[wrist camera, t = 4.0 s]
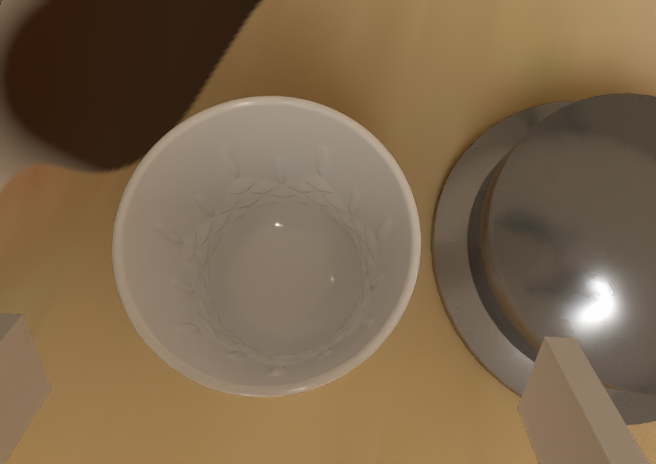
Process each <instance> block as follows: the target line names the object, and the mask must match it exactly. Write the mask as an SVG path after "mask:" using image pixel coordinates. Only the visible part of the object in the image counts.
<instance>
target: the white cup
mask: <svg viewBox="0 0 656 464" xmlns="http://www.w3.org/2000/svg"><path fill="white" fill-rule="evenodd" d="M420 255H421V231H420V222H419V216H418V211H417V207H416V203H415V200H414V197H413V194H412V191H411V189H410V186H409V184H408V182H407V179H406V177H405V175H404V174H403V172H402V170H401V168H400V167H399V165H398V163H397V162H396V160H395V159H394V158H393V156H392V155H391V154H390V152H389V151H388V150H387V149H386V148H385V146H384V145H383V144H382V143H381V142H380V141H379V140H378V139H377V138H376V137H375V136H374V135H373V134H372V133H370V132H369V131H368V130H367V129H366V128H364V127H363V126H362V125H360V124H359V123H357V122H356V121H354V120H353V119H351V118H350V117H348V116H346V115H344V114H343V113H341V112H339V111H337V110H334V109H332V108H330V107H327V106H325V105H322V104H319V103H316V102H313V101H309V100H305V99H300V98H294V97H287V96H253V97H246V98H240V99H235V100H231V101H227V102H224V103H221V104H218V105H215V106H212V107H210V108H207V109H205V110H203V111H201V112H199V113H197V114H195V115H193V116H191V117H189V118H188V119H186V120H184V121H183V122H181V123H180V124H178V125H177V126H176V127H174V128H173V129H172V130H170V131H169V132H168V133H167V134H166V135H164V136H163V137H162V138H161V139H160V140H159V141H158V142H157V143H156V144H155V145H154V146H153V147H152V148H151V149H150V150H149V152H148V153H147V154H146V155H145V157H144V158H143V159H142V160H141V162H140V163H139V165H138V166H137V168H136V169H135V171H134V173H133V174H132V176H131V178H130V180H129V182H128V184H127V186H126V188H125V190H124V192H123V195H122V197H121V200H120V203H119V206H118V209H117V213H116V217H115V222H114V228H113V236H112V264H113V272H114V278H115V283H116V287H117V290H118V294H119V297H120V300H121V302H122V305H123V307H124V310H125V312H126V314H127V316H128V318H129V320H130V321H131V323H132V325H133V326H134V328H135V330H136V331H137V333H138V334H139V335H140V337H141V338H142V339H143V341H144V342H145V343H146V344H147V346H148V347H149V348H150V349H151V350H152V351H153V352H154V353H155V354H156V355H157V356H158V357H159V358H160V359H161V360H162V361H164V362H165V363H166V364H167V365H169V366H170V367H171V368H173V369H174V370H175V371H177V372H178V373H180V374H182V375H183V376H185V377H187V378H188V379H190V380H192V381H194V382H196V383H198V384H201V385H203V386H205V387H208V388H211V389H214V390H217V391H220V392H224V393H228V394H233V395H239V396H246V397H279V396H287V395H293V394H298V393H302V392H306V391H309V390H312V389H315V388H318V387H321V386H323V385H326V384H328V383H330V382H332V381H334V380H336V379H338V378H340V377H342V376H344V375H345V374H347V373H348V372H350V371H352V370H353V369H354V368H356V367H357V366H359V365H360V364H361V363H362V362H364V361H365V360H366V359H367V358H368V357H370V356H371V355H372V354H373V353H374V352H375V351H376V350H377V349H378V348H379V347H380V346H381V345H382V343H383V342H384V341H385V340H386V339H387V337H388V336H389V335H390V334H391V332H392V331H393V329H394V328H395V327H396V325H397V323H398V322H399V320H400V319H401V317H402V315H403V313H404V311H405V309H406V307H407V305H408V303H409V300H410V298H411V295H412V293H413V290H414V287H415V283H416V279H417V275H418V270H419V264H420Z"/></svg>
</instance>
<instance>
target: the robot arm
mask: <svg viewBox="0 0 656 464" xmlns="http://www.w3.org/2000/svg"><path fill="white" fill-rule="evenodd" d="M1 1H2V0H0V4H1ZM50 390H51V387H50V384H49V382H48V379H47V377H46V374H45V371H44V369H43V366H42V363H41V361H40V358H39V355H38V353H37V350H36V347H35V345H34V342H33V340H32V337H31V334H30V332H29V329H28V326H27V324H26V321H25V318H24V316H23V314H9V313H0V464H5V462H6V461H7V459H8V457H9V456H10V454H11V453H12V451H13V449H14V448H15V446H16V445H17V443H18V441H19V440H20V438H21V437H22V435H23V433H24V432H25V430H26V429H27V427H28V425H29V424H30V422H31V421H32V419H33V417H34V416H35V414H36V413H37V411H38V409H39V408H40V406H41V404H42V403H43V401H44V400H45V398H46V396H47V395H48V393H49V392H50ZM518 411H519V414H520V416H521V419H522V421H523V424H524V427H525V429H526V432H527V435H528V437H529V440H530V442H531V445H532V448H533V450H534V453H535V455H536V458H537V461H538V463H539V464H649V462H648V461H647V459H646V457H645V456H644V454H643V452H642V451H641V449H640V447H639V446H638V444H637V442H636V441H635V439H634V437H633V435H632V434H631V432H630V430H629V429H628V427H627V425H626V424H625V422H624V420H623V419H622V417H621V415H620V413H619V412H618V410H617V408H616V407H615V405H614V403H613V402H612V400H611V398H610V397H609V395H608V393H607V391H606V390H605V388H604V386H603V385H602V383H601V381H600V380H599V378H598V376H597V375H596V373H595V371H594V369H593V368H592V366H591V364H590V363H589V361H588V359H587V358H586V356H585V354H584V353H583V351H582V349H581V347H580V346H579V344H578V342H577V341H576V339H575V338H569V337H546V336H545V337H544V340H543V342H542V345H541V347H540V350H539V353H538V355H537V358H536V361H535V363H534V366H533V368H532V371H531V374H530V376H529V379H528V381H527V384H526V387H525V389H524V392H523V395H522V397H521V400H520V402H519V405H518Z"/></svg>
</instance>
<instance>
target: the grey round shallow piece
mask: <svg viewBox="0 0 656 464" xmlns="http://www.w3.org/2000/svg"><path fill="white" fill-rule="evenodd" d="M431 252H432V264H433V271H434V276H435V280H436V285H437V289H438V292H439V295H440V298H441V301H442V304H443V306H444V309H445V311H446V313H447V315H448V317H449V319H450V321H451V323H452V325H453V327H454V329H455V331H456V333H457V334H458V336H459V337H460V339H461V340H462V342H463V343H464V344H465V346H466V347H467V349H468V350H469V351H470V353H471V354H472V355H473V356H474V357H475V358H476V360H477V361H478V362H479V363H480V364H481V365H482V366H483V367H484V368H485V369H486V370H487V371H488V372H489V373H490V374H491V375H492V376H493V377H495V378H496V379H497V380H498V381H499V382H500V383H501V384H503V385H504V386H506V387H507V388H508V389H510V390H511V391H513V392H514V393H516V394H517V395H518V396H520V397H522V395H523V392H524V389H525V387H526V384H527V381H528V379H529V376H530V374H531V371H532V368H533V366H534V363H535V361H536V358H537V355H538V353H539V350H540V347H541V345H542V342H543V340H544V337H545V336H546V337H569V338H575V339H576V341H577V342H578V344H579V346H580V347H581V349H582V351H583V353H584V354H585V356H586V358H587V359H588V361H589V363H590V364H591V366H592V368H593V369H594V371H595V373H596V375H597V376H598V378H599V380H600V381H601V383H602V385H603V386H604V388H605V390H606V391H607V393H608V395H609V397H610V398H611V400H612V402H613V403H614V405H615V407H616V408H617V410H618V412H619V413H620V415H621V417H622V419H623V420H624V422H625V424H626V425H632V424H642V423H647V422H652V421H656V97H653V96H649V95H639V94H608V95H602V96H595V97H591V98H587V99H583V100H580V101H561V102H555V103H548V104H542V105H539V106H535V107H532V108H528V109H525V110H523V111H520V112H518V113H516V114H513V115H511V116H509V117H507V118H505V119H504V120H502V121H500V122H499V123H497V124H495V125H494V126H492V127H491V128H490V129H488V130H487V131H486V132H485V133H483V134H482V135H481V136H480V137H479V138H477V139H476V140H475V142H474V143H473V144H472V145H471V146H470V147H469V148H468V149H467V150H466V151H465V152H464V154H463V155H462V156H461V158H460V159H459V161H458V162H457V163H456V165H455V166H454V168H453V169H452V171H451V172H450V174H449V176H448V178H447V180H446V182H445V184H444V186H443V188H442V190H441V193H440V196H439V199H438V202H437V205H436V209H435V214H434V220H433V225H432V239H431Z"/></svg>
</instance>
